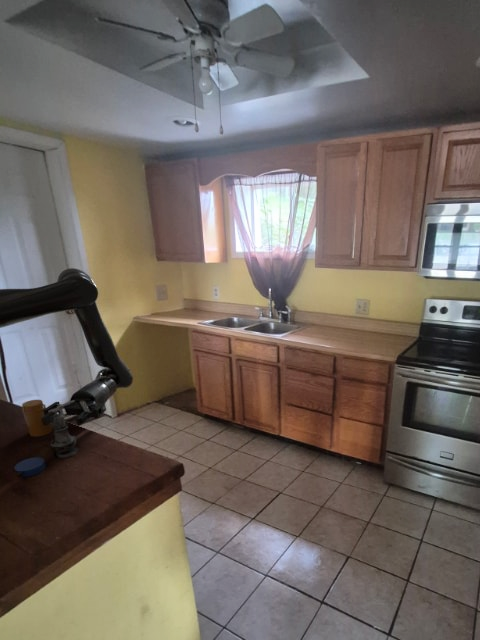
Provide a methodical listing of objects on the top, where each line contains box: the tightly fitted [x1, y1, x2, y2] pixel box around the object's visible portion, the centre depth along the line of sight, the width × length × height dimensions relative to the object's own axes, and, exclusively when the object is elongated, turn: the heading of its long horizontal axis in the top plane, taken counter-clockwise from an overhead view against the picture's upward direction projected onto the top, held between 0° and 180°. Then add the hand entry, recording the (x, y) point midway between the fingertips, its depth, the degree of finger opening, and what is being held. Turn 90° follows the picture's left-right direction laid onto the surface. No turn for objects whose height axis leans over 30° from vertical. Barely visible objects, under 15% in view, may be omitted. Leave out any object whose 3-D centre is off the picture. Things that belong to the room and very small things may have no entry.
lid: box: [13, 456, 47, 478], centre depth 89 cm, size 6×6×2 cm
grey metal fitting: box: [49, 411, 79, 459], centre depth 95 cm, size 6×6×12 cm
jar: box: [21, 399, 53, 438], centre depth 103 cm, size 5×5×10 cm
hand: (60, 422), depth 94 cm, fingers open, 8 cm apart
